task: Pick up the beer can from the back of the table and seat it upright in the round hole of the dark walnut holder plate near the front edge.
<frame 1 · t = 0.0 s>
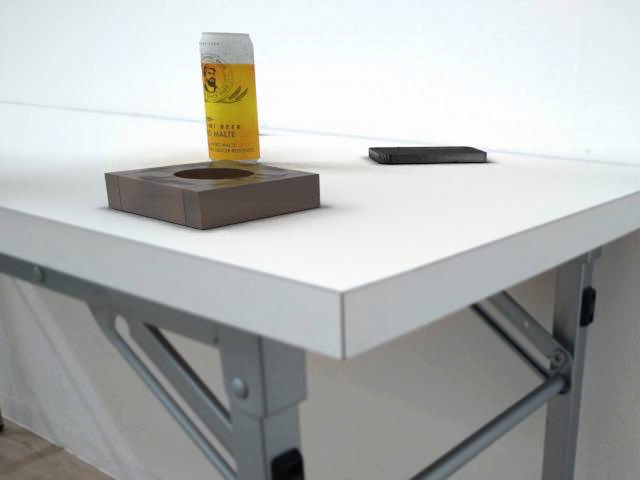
beer can: (235, 165, 91), on the table
ultrasonic sensor: (237, 135, 123), on the table
can holder: (217, 207, 66), on the table
phone: (427, 159, 100), on the table
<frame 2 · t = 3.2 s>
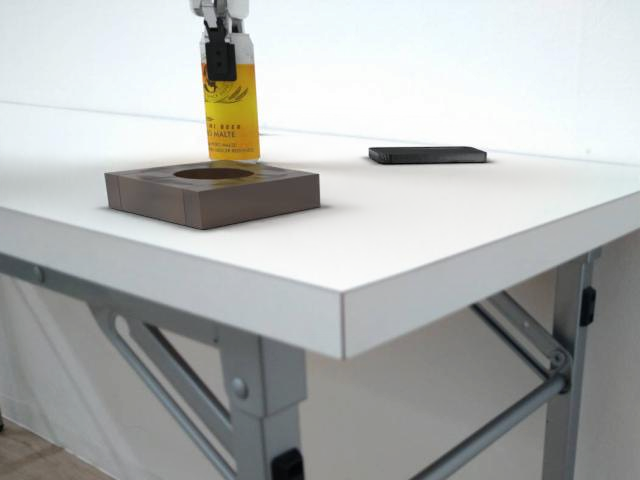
hand: (229, 78, 88), 10 cm above the table, tool pointing down, fingers closed on beer can, 6 cm apart
beer can: (235, 165, 91), on the table, touching gripper
everything else where it was.
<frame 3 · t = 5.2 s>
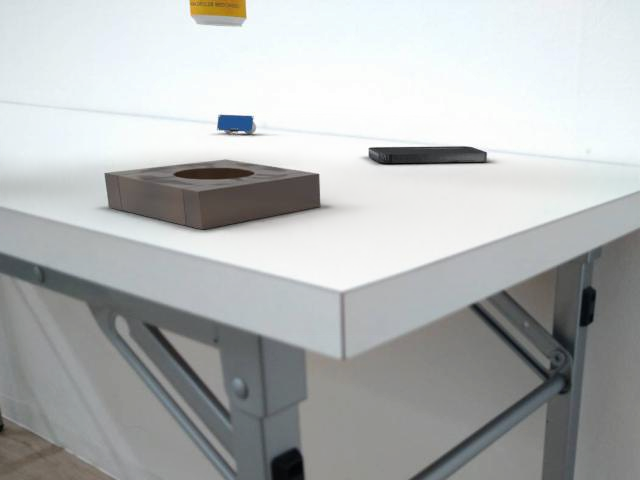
beer can: (219, 27, 84), point 16 cm above the table, touching gripper
everything else where it was.
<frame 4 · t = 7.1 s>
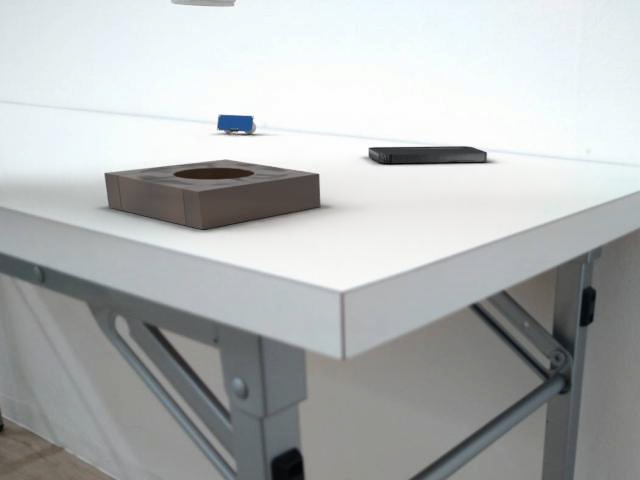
beer can: (203, 7, 62), point 17 cm above the table, touching gripper
everything else where it was.
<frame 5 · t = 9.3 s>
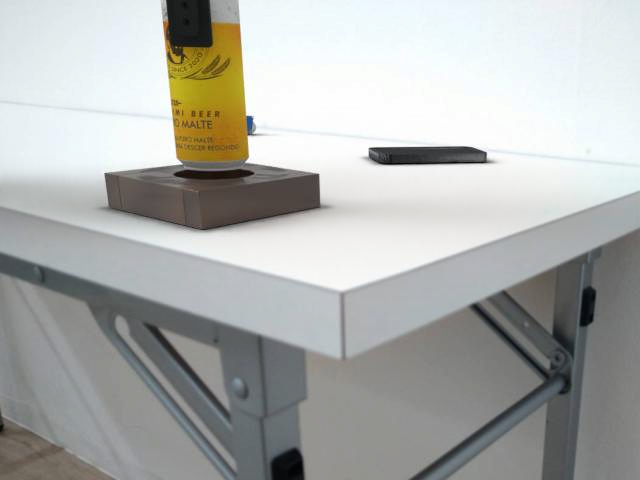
hand: (202, 45, 62), 14 cm above the table, tool pointing down, fingers closed on beer can, 6 cm apart
beer can: (214, 169, 65), point 3 cm above the table, touching gripper
everything else where it was.
when the fingers open (10 cm above the table, at t = 10.9 s): beer can stays where it is, resting in can holder.
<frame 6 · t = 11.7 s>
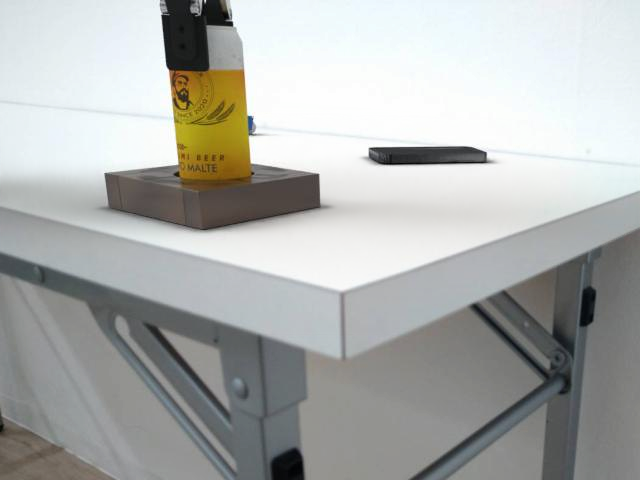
hand: (204, 69, 62), 12 cm above the table, tool pointing down, fingers open, 9 cm apart
beer can: (218, 209, 66), resting in can holder
everything else where it was.
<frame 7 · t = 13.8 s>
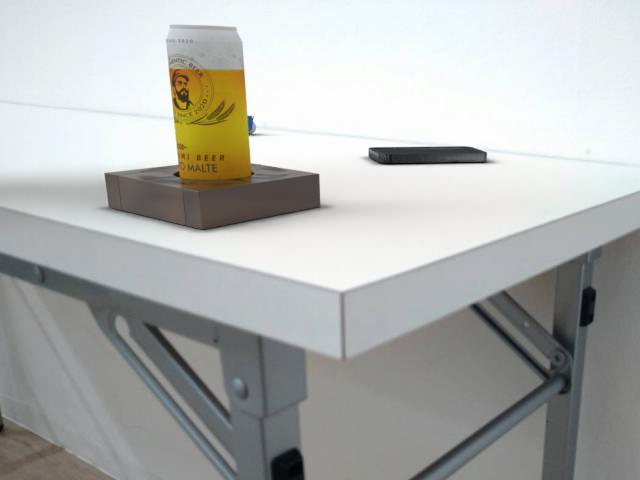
nothing on the table moved.
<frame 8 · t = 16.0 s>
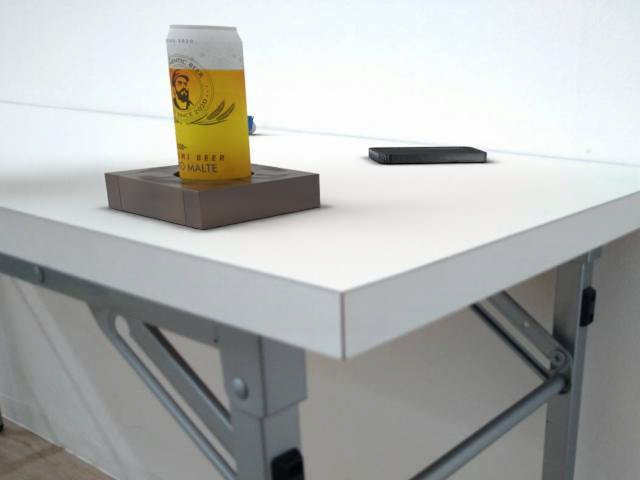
nothing on the table moved.
at the end: beer can 0.1 cm off-centre in the can holder, point 0.0 cm above the can holder's base; beer can tilted 0°; the gripper is holding nothing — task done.
